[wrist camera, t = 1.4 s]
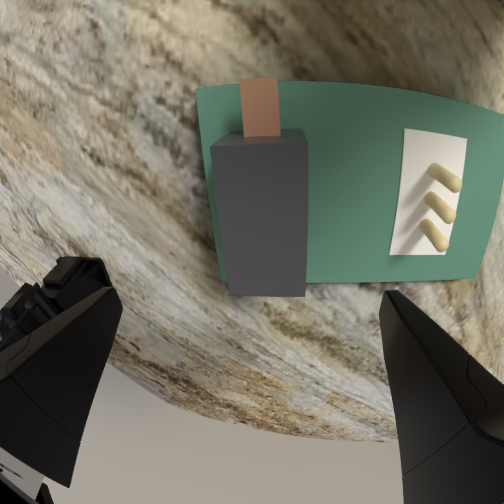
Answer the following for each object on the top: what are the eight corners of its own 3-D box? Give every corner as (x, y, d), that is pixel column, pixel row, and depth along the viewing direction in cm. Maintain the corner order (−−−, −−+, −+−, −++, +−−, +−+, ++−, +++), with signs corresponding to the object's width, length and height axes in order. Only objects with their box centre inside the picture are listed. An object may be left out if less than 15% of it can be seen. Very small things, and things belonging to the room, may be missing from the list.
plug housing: (302, 249, 20) (305, 296, 15) (242, 249, 20) (229, 295, 16) (299, 79, 14) (305, 73, 10) (226, 83, 14) (202, 80, 10)
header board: (468, 268, 20) (490, 300, 17) (224, 270, 23) (212, 308, 19) (499, 113, 13) (536, 125, 9) (202, 88, 16) (177, 89, 12)
